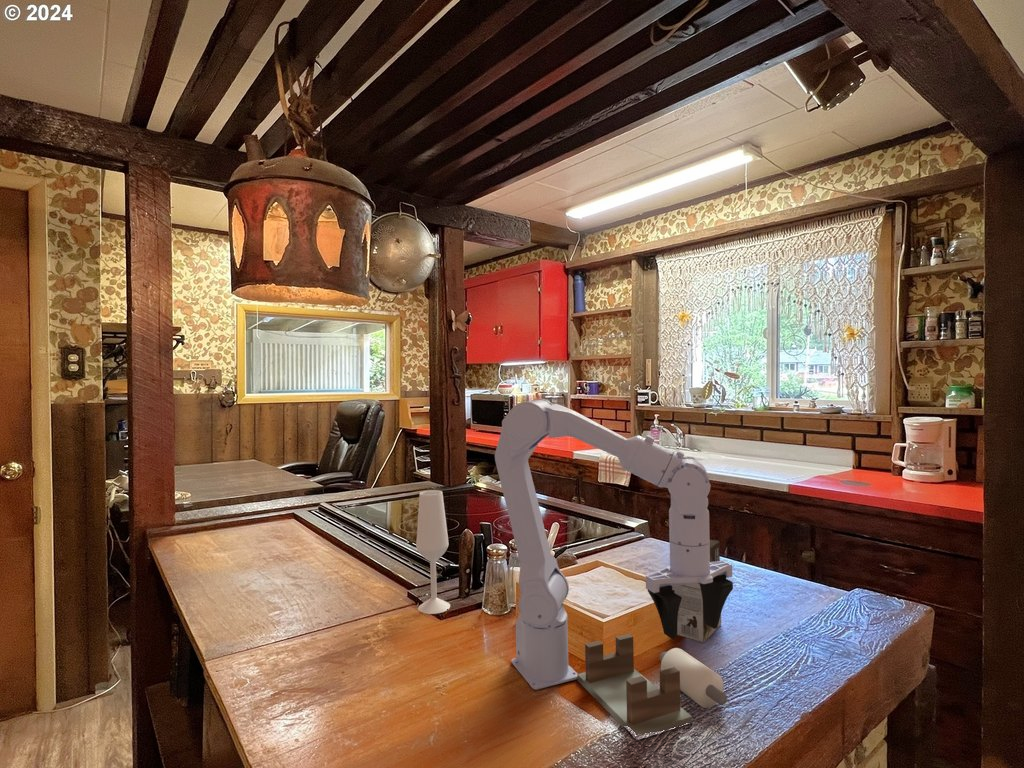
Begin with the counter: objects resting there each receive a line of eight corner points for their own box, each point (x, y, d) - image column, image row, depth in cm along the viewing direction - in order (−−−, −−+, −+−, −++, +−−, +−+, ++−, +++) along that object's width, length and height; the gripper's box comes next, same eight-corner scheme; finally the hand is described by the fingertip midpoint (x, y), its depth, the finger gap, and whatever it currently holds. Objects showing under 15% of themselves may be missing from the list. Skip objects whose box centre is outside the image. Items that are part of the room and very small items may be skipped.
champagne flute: (413, 604, 119) (410, 491, 118) (443, 598, 122) (440, 488, 122) (423, 616, 113) (420, 497, 113) (455, 609, 116) (452, 493, 116)
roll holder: (577, 680, 88) (576, 639, 88) (625, 667, 92) (625, 628, 92) (636, 741, 74) (635, 692, 74) (692, 723, 77) (691, 676, 77)
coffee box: (689, 616, 110) (687, 534, 110) (722, 624, 106) (721, 540, 106) (669, 633, 103) (668, 546, 103) (704, 643, 99) (703, 552, 99)
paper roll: (651, 676, 90) (650, 645, 89) (677, 667, 92) (675, 637, 91) (709, 722, 78) (707, 686, 77) (737, 711, 79) (735, 677, 79)
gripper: (666, 555, 78) (668, 653, 78) (747, 541, 83) (748, 632, 83) (636, 541, 84) (638, 631, 84) (713, 529, 90) (714, 613, 90)
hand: (690, 630), depth 84 cm, fingers open, 7 cm apart
